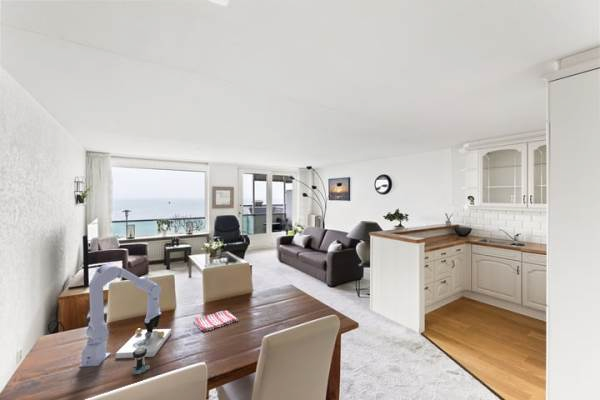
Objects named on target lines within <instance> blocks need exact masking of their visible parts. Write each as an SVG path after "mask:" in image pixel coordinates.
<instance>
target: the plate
mask: <svg viewBox="0 0 600 400" xmlns="http://www.w3.org/2000/svg"><path fill="white" fill-rule="evenodd" d="M160 331H163V332H164V336H163V337H161V338H159V337H158V336H157V335H158V333H159V332H160ZM146 332H147V329H142V333H141V334H139V335H137V334H136V333H135V334H134V335H132V336H131V338H129V340H127V342H126V343H125V344H124V345H123V346H121V347H120V349H118V350H117V352H116V353H115V358H116V359H126V358H127V359H128V358H129V359H130V358H131V359H132V358H134V357H133V352H134V351H135V350H136V349H137V348H140V347H144V348H146V349H147V352H146V355H145V356H144V358H147V357H148V358H149V357H153V358H154V357H155V356H156V354H157V353H158V351H159V350H160V348H161V347H162V346H163V344H165V342H166V341H167V339H168V338H169V337H170V336H171V334H172V328H161V329H159V328H158V329H157V328H155V329H154V328H153V332H152V335H151V337H150V338H146V337H145V333H146Z"/></svg>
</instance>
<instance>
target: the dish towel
mask: <svg viewBox="0 0 600 400" xmlns="http://www.w3.org/2000/svg"><path fill="white" fill-rule="evenodd" d="M235 321H236V322H238V321H239V318H237V317H236V316H235V315H233V314H232V313H231V312H230V311H229V310H221V311H220V310H219V311H217V312H214V313H212V314H207V315H201V316H194V318H193V322H194V324H195V326H196V327H197V328H198V329H200V330H201V331H203V332H207V331H208V330H209V331H211V330H215V329H218V328H217V327H219V328H221V326H222V327H224V325H225V326H227V325H226V324H228V325H231V324H233V323H232V322H234V323H235ZM230 323H231V324H230ZM214 328H215V329H214ZM209 331H208V332H209Z"/></svg>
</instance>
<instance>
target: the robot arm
mask: <svg viewBox="0 0 600 400" xmlns="http://www.w3.org/2000/svg"><path fill="white" fill-rule="evenodd" d="M117 278H118V279H122V278H124V279H125V280H128V281H130V282H133V283H134V286H135V288H138V289H140V290H142V291H144V292H146V293H147V301H146V302H147V304H146V305H147V307H146V309H147V311H146V315H145V316H146V317H145V319H144V320H143V322H142V323H143V325H144V326H145V330H147V332H148V331H150V332H151V333H152V332H153V329H154V328H158V325H159V323H160V319H161V316H162V314H163V313H162V311H161V307H160V294H161V292H162V290H163V288H162V287H161V285H160V284H158V283H156V281H155V280H151V279H149V277H148V276H146V275H145V276H140V277H139V276H138V275H136V274H133V273H132V272H131V271H129V270H127V269H125V268H122V267H119V266H116V265H113V264H112V263H104V264H102V265H101V266H99V267H98V268H97V269H96V270H95V274H94V275H93V277H92V279H91V280H90V281H89V285H88V290H89V317H90V318H89V322H88V327H87V329H86V332H85V333H86V335H87V337H88V339H87V342H86V345H85V347H84V349H82V351H81V359H80V360H81V362H80V364H79V365H78V367H97V366H99V365H100V364H101V363H103V361H105V360H106V359H107V358H108V357H109V356H110V355H111V352H107V339H108V336H109V330H108V328H107V324H106V321H105V312H104V311H105V306H104V287H105V286H106V285H107V284H108V283H110V282H112V281H114V280H115V279H117Z"/></svg>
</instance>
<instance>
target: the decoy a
mask: <svg viewBox="0 0 600 400" xmlns="http://www.w3.org/2000/svg"><path fill="white" fill-rule="evenodd" d="M142 330H143V328H140V327H139V328H137V329H136V330H135V332H134V333H135V334H137V335H139V334H141V333H142Z"/></svg>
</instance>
